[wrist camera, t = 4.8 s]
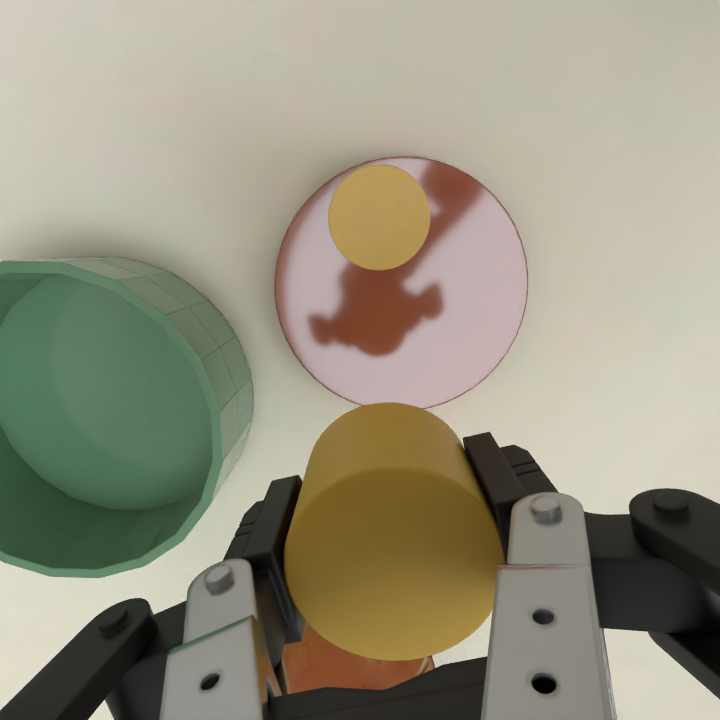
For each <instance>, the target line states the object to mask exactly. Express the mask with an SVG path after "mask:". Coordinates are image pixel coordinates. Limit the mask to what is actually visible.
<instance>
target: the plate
mask: <svg viewBox="0 0 720 720" xmlns="http://www.w3.org/2000/svg"><path fill="white" fill-rule="evenodd" d="M375 164H386V165H391V166H395V167H397V168H400V169H402V170H404V171H406V172H407V173H408V174H410V175H411V176H412V177H413V178H414V179H416V181H417V182H418V183H419V184H420V185H421V187H422V189H423V190H424V192H425V194H426V197H427V199H428V203H429V208H430V226H429V231H428V234H427V237H426V239H425V241H424V243H423V245H422V247H421V248H420V250H419V251H418V252H417V253H416V254H415V255H414V256H413V257H412V258H411V259H410V260H408V261H407V262H406V263H404V264H402V265H400V266H398V267H395V268H392V269H388V270H370V269H365V268H362V267H359V266H357V265H355V264H354V263H352V262H351V261H349V260H348V259H347V258H346V257H344V256H343V255H342V253H341V252H340V251H339V250H338V248H337V247H336V245H335V243H334V241H333V239H332V237H331V234H330V230H329V224H328V211H329V205H330V202H331V199H332V196H333V194H334V192H335V190H336V189H337V187H338V186H339V184H340V183H341V182H342V181H343V180H344V179H345V178H346V177H347V176H348V175H349V174H351V173H352V172H354V171H356V170H357V169H359V168H362V167H365V166H369V165H375ZM527 294H528V269H527V262H526V256H525V252H524V248H523V244H522V241H521V238H520V236H519V234H518V231H517V229H516V226H515V224H514V223H513V221H512V219H511V217H510V216H509V214H508V212H507V211H506V209H505V208H504V207H503V206H502V204H501V203H500V202H499V201H498V199H497V198H496V197H495V196H494V195H493V194H492V193H491V192H490V191H489V190H488V189H487V188H486V187H485V186H484V185H483V184H481V183H480V182H478V181H477V180H476V179H474V178H473V177H471V176H470V175H468V174H467V173H465V172H463V171H461V170H459V169H457V168H455V167H453V166H450V165H447V164H444V163H441V162H439V161H435V160H430V159H425V158H420V157H404V156H400V157H389V158H381V159H377V160H373V161H368V162H365V163H362V164H360V165H357V166H354V167H352V168H349V169H348V170H346V171H344V172H342V173H340V174H338V175H337V176H335V177H333V178H332V179H331V180H329V181H328V182H327V183H325V184H324V185H323V186H321V187H320V188H319V189H318V190H317V191H316V192H315V193H314V194H313V195H312V196H311V197H310V198H309V199H308V200H307V201H306V202H305V204H304V205H303V206H302V207H301V209H300V210H299V211H298V212H297V214H296V216H295V217H294V219H293V221H292V222H291V224H290V226H289V228H288V230H287V232H286V235H285V237H284V239H283V242H282V244H281V248H280V251H279V255H278V258H277V265H276V271H275V300H276V309H277V313H278V317H279V321H280V325H281V328H282V330H283V333H284V335H285V338H286V340H287V342H288V344H289V346H290V347H291V349H292V351H293V353H294V355H295V356H296V357H297V359H298V360H299V361H300V363H301V364H302V366H303V367H304V368H305V369H306V370H307V371H308V372H309V373H310V374H311V375H312V376H313V377H314V378H315V379H316V380H317V381H318V382H319V383H321V384H322V385H323V386H324V387H326V388H327V389H328V390H330V391H332V392H333V393H335V394H336V395H338V396H340V397H342V398H344V399H346V400H348V401H350V402H353V403H355V404H358V405H361V406H365V405H369V404H374V403H384V402H393V403H403V404H408V405H412V406H416V407H419V408H421V409H426V408H431V407H434V406H437V405H440V404H443V403H446V402H448V401H451V400H453V399H455V398H457V397H459V396H461V395H463V394H464V393H466V392H467V391H469V390H471V389H472V388H474V387H475V386H476V385H477V384H479V383H480V382H481V381H482V380H484V379H485V378H486V377H487V376H488V375H489V374H490V373H491V372H492V371H493V370H494V369H495V368H496V367H497V366H498V364H499V363H500V362H501V360H502V359H503V358H504V356H505V355H506V354H507V352H508V350H509V348H510V347H511V345H512V343H513V341H514V340H515V338H516V335H517V333H518V330H519V328H520V326H521V323H522V319H523V316H524V312H525V308H526V302H527Z"/></svg>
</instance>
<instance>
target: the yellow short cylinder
mask: <svg viewBox="0 0 720 720" xmlns="http://www.w3.org/2000/svg"><path fill="white" fill-rule="evenodd" d="M499 564H506V563H505V558H504V553H503V548H502V544H501V539H500V535H499V530H498V526H497V523H496V520H495V518H494V515H493V513H492V511H491V509H490V506H489V504H488V502H487V500H486V497H485V495H484V493H483V490H482V488H481V486H480V484H479V481H478V479H477V477H476V475H475V472H474V470H473V468H472V466H471V463H470V461H469V459H468V456H467V454H466V452H465V449H464V447H463V445H462V443H461V441H460V440H459V438H458V437H457V435H456V434H455V433H454V431H453V430H452V429H451V428H450V427H449V426H448V425H447V424H446V423H444V422H443V421H442V420H441V419H440V418H438V417H437V416H435V415H433V414H432V413H430V412H428V411H426V410H424V409H421V408H419V407H416V406H412V405H408V404H403V403H393V402H384V403H374V404H369V405H365V406H362V407H359V408H356V409H354V410H352V411H350V412H348V413H346V414H344V415H343V416H341V417H340V418H338V419H337V420H335V421H334V422H333V423H332V424H331V425H330V426H329V427H328V428H327V429H326V430H325V431H324V432H323V433H322V435H321V436H320V438H319V439H318V441H317V442H316V444H315V446H314V448H313V450H312V453H311V456H310V459H309V462H308V466H307V469H306V473H305V476H304V480H303V483H302V487H301V490H300V494H299V497H298V500H297V504H296V507H295V511H294V514H293V518H292V521H291V525H290V528H289V532H288V535H287V538H286V542H285V548H284V558H283V568H284V575H285V580H286V584H287V587H288V590H289V593H290V596H291V598H292V600H293V603H294V605H295V606H296V608H297V610H298V611H299V613H300V614H301V616H302V617H303V618H304V620H305V621H306V622H307V623H308V624H309V626H311V627H312V628H313V629H314V630H315V631H316V632H317V633H318V634H319V635H321V636H322V637H323V638H325V639H326V640H328V641H329V642H330V643H332V644H334V645H336V646H338V647H339V648H341V649H344V650H346V651H348V652H351V653H353V654H357V655H360V656H363V657H367V658H373V659H379V660H391V661H398V660H411V659H418V658H423V657H427V656H430V655H434V654H437V653H439V652H442V651H444V650H447V649H449V648H451V647H453V646H454V645H456V644H458V643H460V642H461V641H463V640H464V639H465V638H467V637H468V636H470V635H471V634H472V633H473V632H474V631H475V630H476V629H478V628H479V627H480V626H481V624H482V623H483V622H484V621H485V620H486V619H487V617H488V616H489V615H490V613H491V611H492V610H493V603H494V594H495V585H496V576H497V569H498V565H499Z"/></svg>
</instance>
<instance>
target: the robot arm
mask: <svg viewBox="0 0 720 720" xmlns="http://www.w3.org/2000/svg"><path fill="white" fill-rule="evenodd" d="M463 443H464V448H465V452H466V454H467V456H468V459H469V461H470V463H471V466H472V468H473V470H474V472H475V475H476V477H477V479H478V481H479V484H480V486H481V488H482V490H483V493H484V495H485V497H486V500H487V502H488V504H489V506H490V509H491V511H492V513H493V515H494V518H495V520H496V523H497V526H498V530H499V535H500V539H501V544H502V548H503V553H504V558H505V563H506V564H499V565H498V569H497V576H496V585H495V594H494V603H493V612H492V621H491V630H490V639H489V648H488V656H487V657H482V658H477V659H471V660H466V661H461V662H455V663H450V664H445V665H442V666H439V667H437V668H435V669H432V670H430V671H428V672H426V673H423V674H421V675H419V676H416V677H414V678H412V679H409V680H407V681H405V682H403V683H400V684H398V685H396V686H393V687H391V688H388V689H384V690H374V689H356V688H338V687H324V688H318V689H313V690H308V691H303V692H297V693H292V694H291V689H290V684H289V678H288V673H287V668H286V665H285V662H284V659H283V656H282V654H283V649H284V645H285V644H290V643H295V642H300V641H302V637H303V631H304V626H305V620H304V618H303V617H302V616H301V614H300V613H299V611H298V610H297V608H296V606H295V605H294V603H293V600H292V598H291V596H290V593H289V590H288V587H287V584H286V580H285V575H284V568H283V558H284V548H285V542H286V538H287V535H288V532H289V528H290V525H291V521H292V518H293V514H294V511H295V507H296V504H297V500H298V497H299V494H300V490H301V487H302V483H303V482H302V480H301V478H300V476H299V475H295V476H291V477H287V478H282V479H278V480H273V481H272V482H271V484H270V486H269V489H268V491H267V494H266V496H265V498H264V500H263V501H259V502H256V503H255V504H254V505H253V506H252V507H251V508H250V509H249V510H248V511H247V512H246V513H245V514H244V516H243V519H242V521H241V523H240V525H239V526H240V527H239V528H238V529H237V531H236V533H235V537H234V538H233V540H232V542H231V544H230V546H229V548H228V551H227V553H226V555H225V557H224V559H223V561H222V562H219V563H217V564H214V565H213V566H211V567H209V568H207V569H206V570H204V571H203V572H202V573H200V574H199V575H198V576H197V577H196V578H195V579H194V580H193V581H192V583H191V584H190V586H189V588H188V592H187V601H184V602H182V603H180V604H178V605H176V606H173V607H171V608H168V609H166V610H164V611H161V612H159V613H157V614H154V615H153V612H152V610H151V607H150V605H149V603H148V601H146V600H145V599H142V598H134V599H129V600H125V601H122V602H120V603H117V604H115V605H113V606H111V607H110V608H108V609H106V610H105V611H103V612H102V613H100V614H99V615H98V616H96V617H95V618H94V619H93V620H92V621H91V622H89V623H88V624H87V625H86V626H85V627H84V628H83V629H82V630H81V631H80V632H79V633H78V634H77V635H76V636H75V637H74V638H73V639H72V640H71V641H70V642H69V643H68V644H67V645H66V646H65V647H64V648H63V649H62V650H61V651H60V652H59V653H58V654H57V655H56V656H55V657H54V658H53V659H52V660H51V661H50V662H49V663H48V664H47V665H46V666H45V667H44V668H43V669H42V670H41V671H40V672H39V673H38V674H37V675H36V676H35V677H34V678H33V679H32V680H31V681H30V682H29V683H28V684H27V685H26V686H25V687H24V688H23V689H22V690H21V691H20V692H19V693H18V694H17V695H16V696H15V697H14V698H13V699H11V700H10V701H9V702H8V703H7V704H6V705H5V706H4V707H3V708H2V709H1V710H0V720H88V719H89V718H90V716H91V715H92V714H93V713H94V711H95V710H96V709H97V708H98V707H99V705H100V704H101V703H102V702H103V701H104V699H105V701H106V703H107V705H108V707H109V709H110V712H111V714H112V716H113V718H114V720H617V715H616V709H615V702H614V696H613V689H612V683H611V676H610V669H609V663H608V656H607V649H606V643H605V636H604V629H603V628H608V629H621V630H635V631H648V633H649V635H650V637H651V638H652V639H653V641H654V642H655V643H656V644H657V645H659V646H660V647H661V648H662V649H663V650H664V651H665V652H667V653H668V654H669V655H670V656H671V657H672V658H673V659H674V660H676V661H677V662H678V663H679V664H680V665H681V666H682V667H684V668H685V669H686V670H687V671H688V672H689V673H690V674H692V675H693V676H694V677H695V678H696V679H697V680H698V681H700V682H701V683H702V684H703V685H704V686H705V687H706V688H708V689H709V690H710V691H711V692H712V693H713V694H714V695H715V696H717V697H718V698H719V699H720V504H718V503H716V502H714V501H712V500H710V499H708V498H705V497H703V496H701V495H699V494H696V493H693V492H690V491H686V490H680V489H669V488H665V489H653V490H649V491H645V492H642V493H640V494H638V495H636V496H635V497H634V498H633V499H632V500H631V501H630V504H629V511H630V514H621V515H603V514H593V513H588V512H584V511H583V507H582V505H581V503H580V502H579V501H578V500H577V499H575V498H573V497H571V496H569V495H566V494H562V493H559V492H558V491H557V490H556V488H555V487H554V486H553V484H552V483H551V482H550V480H549V479H548V478H547V476H546V475H545V474H544V472H543V471H541V468H540V467H539V465H538V464H537V463H535V460H534V459H533V457H532V456H531V455H530V453H529V452H528V451H527V450H524V449H522V448H520V447H518V446H516V445H510V446H506V447H501V448H499V446H498V445H497V443H496V441H495V440H494V438H493V436H492V435H491V433H490V432H486V433H482V434H477V435H473V436H468V437H464V438H463Z"/></svg>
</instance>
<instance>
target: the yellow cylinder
mask: <svg viewBox="0 0 720 720" xmlns="http://www.w3.org/2000/svg"><path fill="white" fill-rule="evenodd" d="M328 224H329V230H330V234H331V237H332V239H333V241H334V243H335V245H336V247H337V248H338V250H339V251H340V252H341V253H342V255H343V256H344V257H346V258H347V259H348V260H349V261H351V262H352V263H354V264H355V265H357V266H359V267H362V268H365V269H370V270H388V269H392V268H395V267H398V266H400V265H402V264H404V263H406V262H407V261H408V260H410V259H411V258H412V257H413V256H414V255H415V254H416V253H417V252H418V251H419V250H420V248H421V247H422V245H423V243H424V241H425V239H426V237H427V234H428V231H429V226H430V208H429V203H428V199H427V197H426V194H425V192H424V190H423V189H422V187H421V185H420V184H419V183H418V182H417V181H416V179H414V178H413V177H412V176H411V175H410V174H408V173H407V172H406V171H404V170H402V169H400V168H397V167H395V166H391V165H386V164H375V165H369V166H365V167H362V168H359V169H357V170H356V171H354V172H352V173H351V174H349V175H348V176H347V177H346V178H345V179H344V180H343V181H342V182H341V183H340V184H339V186H338V187H337V189H336V190H335V192H334V194H333V196H332V199H331V202H330V205H329V211H328Z"/></svg>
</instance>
